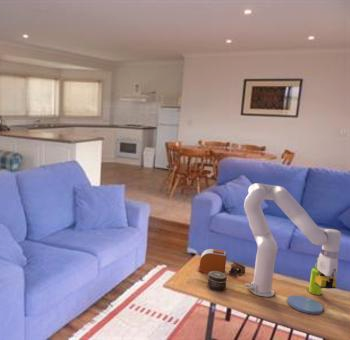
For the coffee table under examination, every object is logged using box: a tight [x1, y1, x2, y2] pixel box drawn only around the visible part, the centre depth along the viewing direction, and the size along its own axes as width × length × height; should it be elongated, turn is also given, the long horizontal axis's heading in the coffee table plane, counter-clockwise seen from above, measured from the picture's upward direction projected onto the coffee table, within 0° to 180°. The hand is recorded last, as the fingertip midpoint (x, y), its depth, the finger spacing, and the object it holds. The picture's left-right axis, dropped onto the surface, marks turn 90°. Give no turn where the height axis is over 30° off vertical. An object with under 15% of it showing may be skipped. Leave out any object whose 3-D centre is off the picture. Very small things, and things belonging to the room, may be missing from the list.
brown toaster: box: [198, 248, 228, 275], centre depth 228 cm, size 15×8×14 cm, turn 69°
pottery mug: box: [228, 261, 246, 278], centre depth 224 cm, size 12×10×8 cm
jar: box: [207, 271, 228, 292], centre depth 208 cm, size 10×10×8 cm
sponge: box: [315, 275, 338, 289], centre depth 195 cm, size 8×5×4 cm, turn 92°
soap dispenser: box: [308, 257, 323, 296], centre depth 205 cm, size 6×7×20 cm
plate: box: [287, 295, 324, 315], centre depth 192 cm, size 16×16×1 cm
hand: (325, 285), depth 195 cm, fingers closed on sponge, 5 cm apart
